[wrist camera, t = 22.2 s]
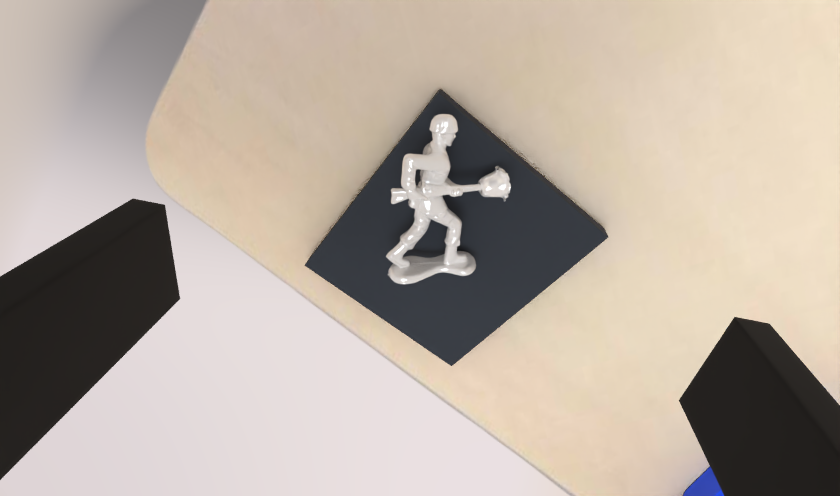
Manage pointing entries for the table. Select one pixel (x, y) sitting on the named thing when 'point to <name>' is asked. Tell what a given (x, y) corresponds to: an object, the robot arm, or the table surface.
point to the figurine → (436, 206)
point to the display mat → (480, 236)
